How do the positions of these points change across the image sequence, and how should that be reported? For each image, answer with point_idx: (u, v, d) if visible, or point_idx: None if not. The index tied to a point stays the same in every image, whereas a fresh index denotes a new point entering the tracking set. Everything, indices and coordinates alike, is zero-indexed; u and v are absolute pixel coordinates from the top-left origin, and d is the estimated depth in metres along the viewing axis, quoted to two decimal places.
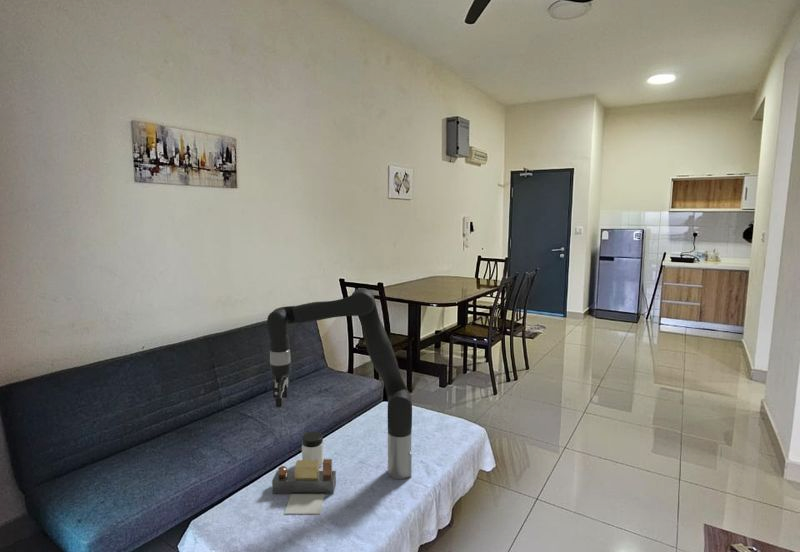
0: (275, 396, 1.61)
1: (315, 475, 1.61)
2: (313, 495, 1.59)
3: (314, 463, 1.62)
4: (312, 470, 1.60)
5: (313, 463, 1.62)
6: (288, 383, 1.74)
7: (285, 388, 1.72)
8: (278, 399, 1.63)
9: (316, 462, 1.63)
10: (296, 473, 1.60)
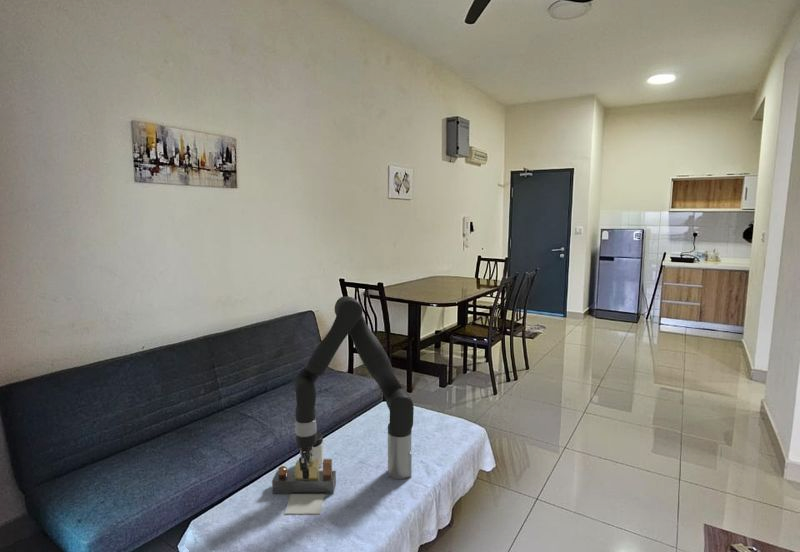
0: (302, 469, 1.57)
1: (315, 475, 1.61)
2: (313, 495, 1.59)
3: (314, 463, 1.62)
4: (312, 470, 1.60)
5: (313, 463, 1.62)
6: (312, 454, 1.66)
7: None
8: (305, 471, 1.59)
9: (316, 462, 1.63)
10: (296, 473, 1.60)
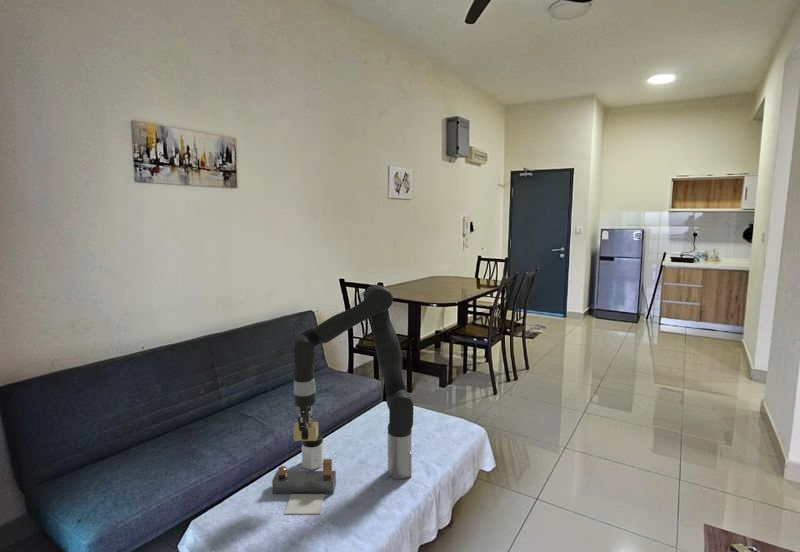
0: (301, 429, 1.55)
1: (314, 436, 1.58)
2: (313, 495, 1.59)
3: (313, 424, 1.60)
4: (311, 430, 1.58)
5: (312, 425, 1.60)
6: (311, 416, 1.64)
7: None
8: (304, 431, 1.57)
9: (315, 423, 1.61)
10: (295, 434, 1.58)
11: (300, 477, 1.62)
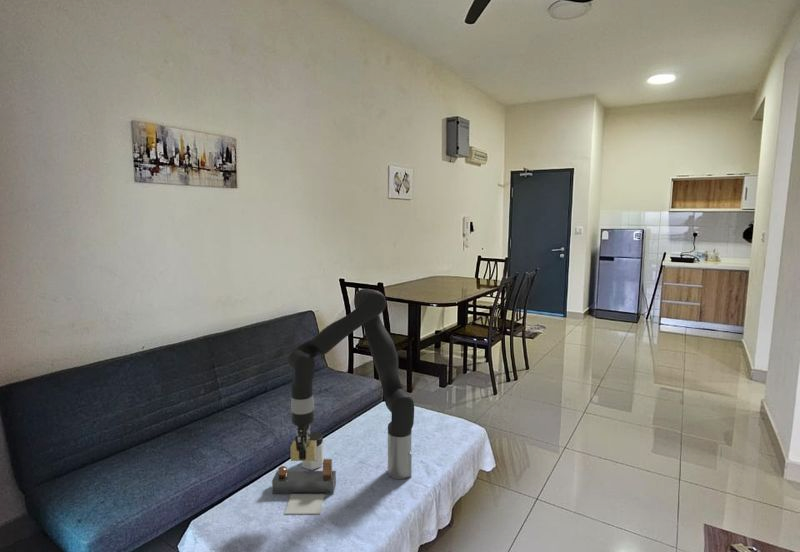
0: (299, 449, 1.46)
1: (312, 456, 1.50)
2: (313, 495, 1.59)
3: (311, 443, 1.52)
4: (309, 450, 1.49)
5: (310, 444, 1.51)
6: (309, 435, 1.56)
7: None
8: (302, 451, 1.48)
9: (313, 442, 1.52)
10: (292, 454, 1.50)
11: (300, 477, 1.62)
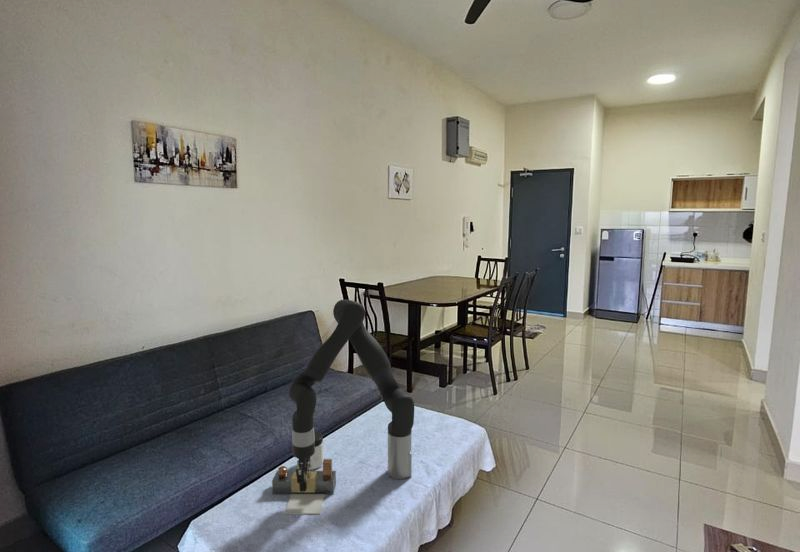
0: (299, 481, 1.48)
1: (313, 487, 1.51)
2: (313, 495, 1.59)
3: (311, 474, 1.53)
4: (310, 482, 1.51)
5: (310, 475, 1.53)
6: (310, 465, 1.57)
7: None
8: (302, 483, 1.50)
9: (314, 474, 1.54)
10: (293, 485, 1.51)
11: None
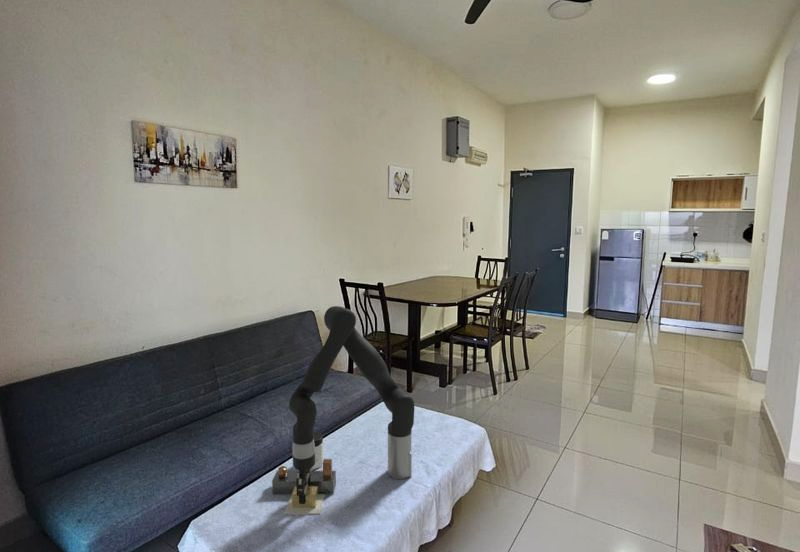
0: (299, 493, 1.47)
1: (314, 503, 1.52)
2: None
3: (312, 490, 1.54)
4: (310, 497, 1.52)
5: (311, 490, 1.54)
6: (311, 472, 1.59)
7: (308, 478, 1.58)
8: (302, 496, 1.49)
9: (315, 489, 1.55)
10: (294, 501, 1.52)
11: None
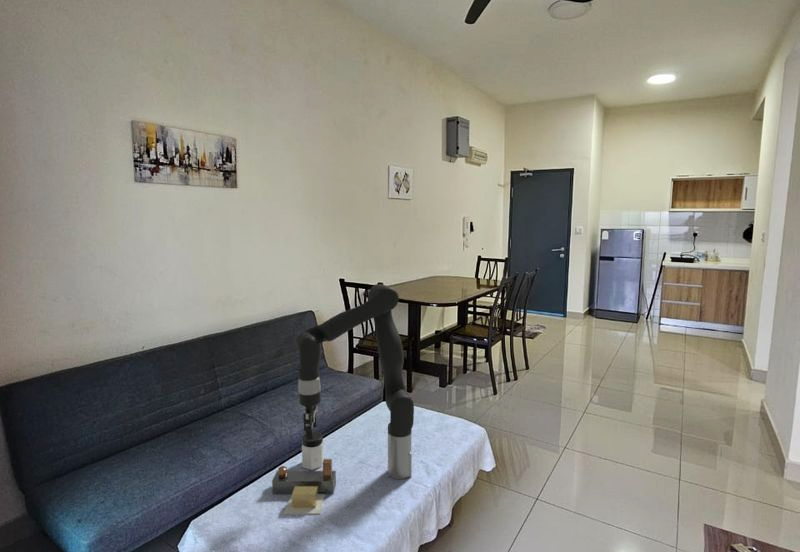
0: (306, 428, 1.49)
1: (314, 503, 1.52)
2: None
3: (312, 490, 1.54)
4: (310, 497, 1.52)
5: (311, 490, 1.54)
6: (317, 411, 1.62)
7: (314, 417, 1.60)
8: (309, 431, 1.51)
9: (315, 489, 1.55)
10: (294, 501, 1.52)
11: (300, 477, 1.62)
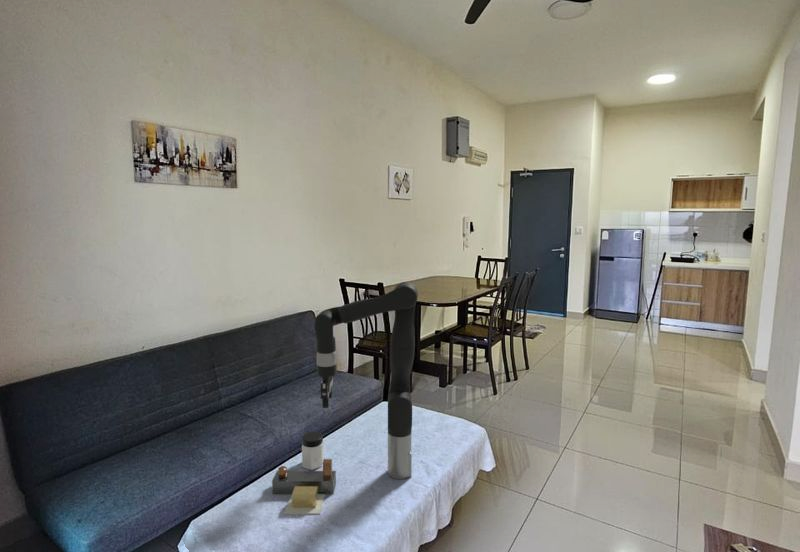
0: (323, 397, 1.64)
1: (314, 503, 1.52)
2: None
3: (312, 490, 1.54)
4: (310, 497, 1.52)
5: (311, 490, 1.54)
6: None
7: None
8: (325, 400, 1.66)
9: (315, 489, 1.55)
10: (294, 501, 1.52)
11: (300, 477, 1.62)
